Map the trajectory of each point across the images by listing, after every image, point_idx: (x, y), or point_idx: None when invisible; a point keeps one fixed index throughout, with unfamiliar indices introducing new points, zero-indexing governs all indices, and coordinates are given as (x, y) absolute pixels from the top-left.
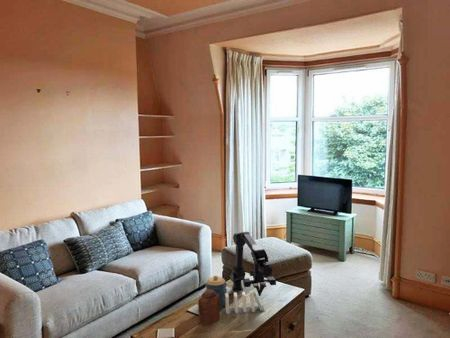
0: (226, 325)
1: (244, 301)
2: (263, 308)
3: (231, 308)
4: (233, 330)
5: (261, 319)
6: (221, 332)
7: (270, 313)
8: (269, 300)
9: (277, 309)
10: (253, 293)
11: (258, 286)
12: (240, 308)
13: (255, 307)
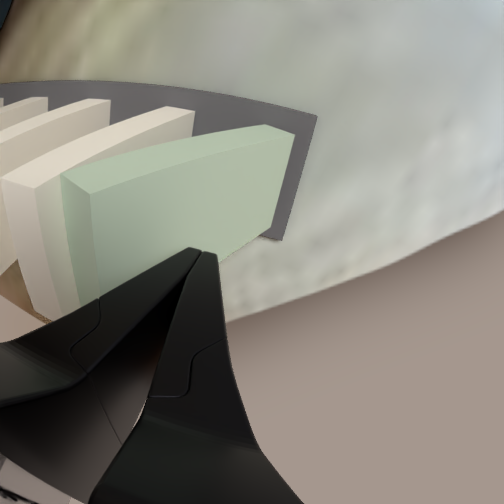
0: (14, 264)
1: None
2: (296, 178)
3: (19, 87)
4: None
5: None
6: (11, 298)
7: (320, 270)
8: (458, 39)
9: (421, 241)
10: (74, 236)
11: (83, 502)
12: (73, 100)
13: (217, 121)
